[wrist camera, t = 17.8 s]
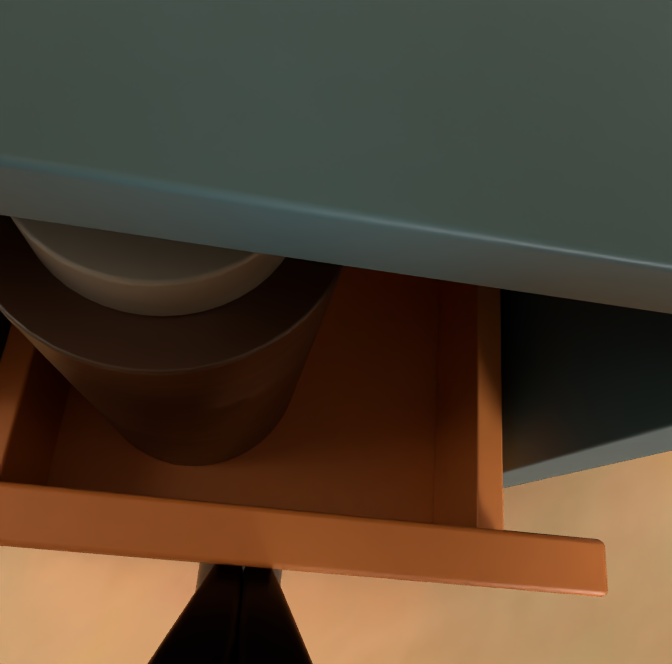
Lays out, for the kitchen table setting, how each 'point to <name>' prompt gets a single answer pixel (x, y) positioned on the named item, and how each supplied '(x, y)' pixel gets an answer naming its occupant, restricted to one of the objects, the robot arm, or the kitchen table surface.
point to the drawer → (306, 459)
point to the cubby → (387, 168)
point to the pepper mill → (166, 331)
